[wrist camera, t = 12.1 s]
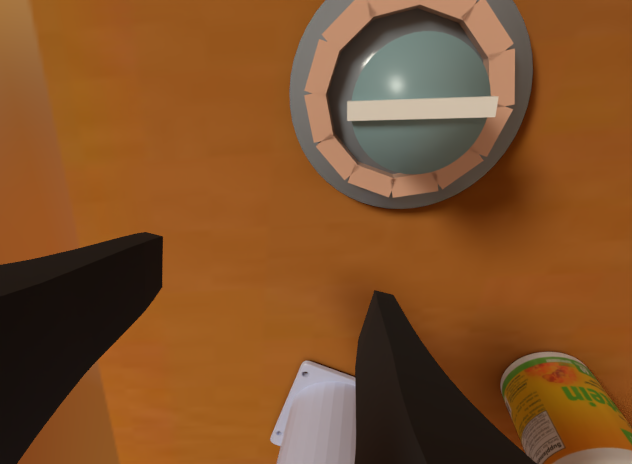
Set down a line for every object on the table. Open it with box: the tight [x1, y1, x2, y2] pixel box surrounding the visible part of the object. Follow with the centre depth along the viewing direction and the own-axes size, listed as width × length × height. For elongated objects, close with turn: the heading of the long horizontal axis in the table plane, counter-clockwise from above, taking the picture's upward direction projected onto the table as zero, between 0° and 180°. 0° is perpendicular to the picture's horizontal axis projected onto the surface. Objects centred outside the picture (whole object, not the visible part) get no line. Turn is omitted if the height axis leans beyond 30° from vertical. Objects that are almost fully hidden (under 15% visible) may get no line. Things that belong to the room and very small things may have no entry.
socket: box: [290, 0, 533, 209], centre depth 16 cm, size 11×11×2 cm
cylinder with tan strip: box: [347, 31, 499, 175], centre depth 14 cm, size 5×4×6 cm
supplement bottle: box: [500, 352, 632, 464], centre depth 18 cm, size 5×5×10 cm
